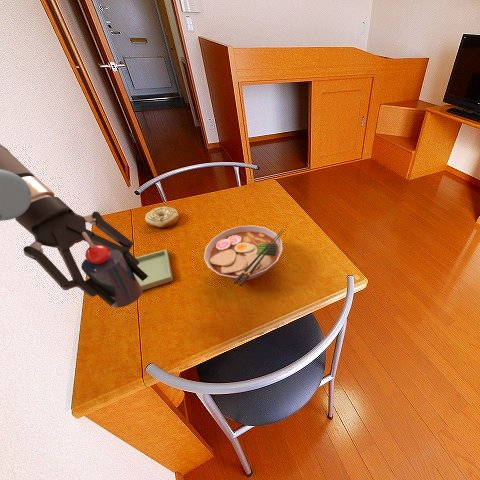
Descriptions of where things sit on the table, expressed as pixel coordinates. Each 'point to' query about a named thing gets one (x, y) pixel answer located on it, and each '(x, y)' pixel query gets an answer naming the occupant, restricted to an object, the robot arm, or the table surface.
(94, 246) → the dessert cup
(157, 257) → the serving tray
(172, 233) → the table surface
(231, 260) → the ramen bowl
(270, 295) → the table surface
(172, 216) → the decorated donut
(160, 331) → the table surface
